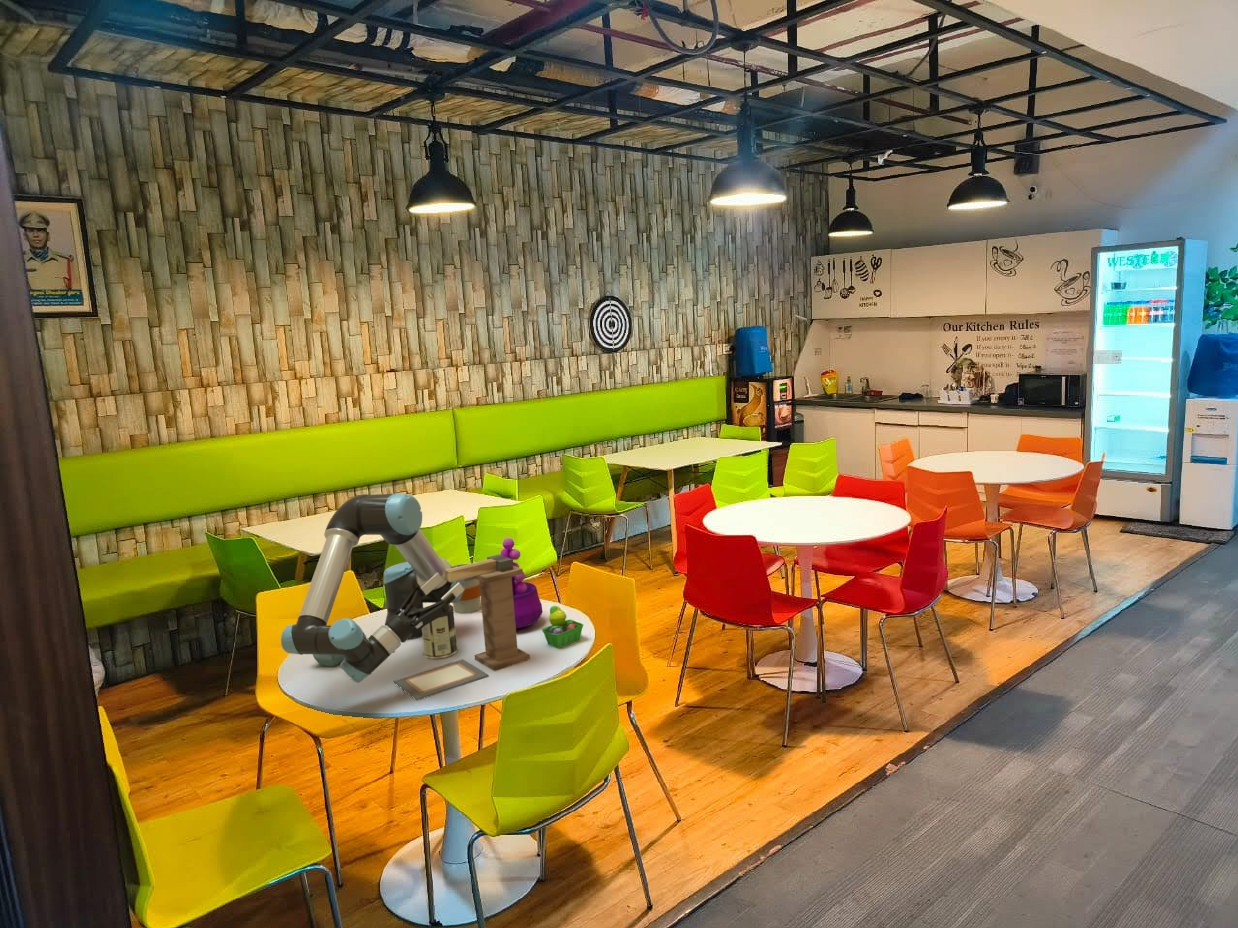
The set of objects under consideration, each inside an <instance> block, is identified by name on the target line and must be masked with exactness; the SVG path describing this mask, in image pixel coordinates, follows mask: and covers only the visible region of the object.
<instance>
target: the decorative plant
mask: <svg viewBox="0 0 1238 928" xmlns="http://www.w3.org/2000/svg"><path fill="white" fill-rule="evenodd" d="M514 546H515V541H514V539H513V538H511V537H506V538H505V539H503V541H502V547H503V548H502V550H501V551H500V553H499V555H502V556H505V557H507V558H510V559H512V562H513V566H516V567H519V568H520V565H519V563H518V562H515V561H517V560H518V559H520V557H521V552H520V550H518V549H516V548H514ZM511 578H512V590H513V601H514V613H515V625H516V629H521V628H524V627H527V626H531V625H532V624H535V623H536V622H537V621H539V619H540V618H541V616H542V614H543V606H542V605H543V604H542V602H541V600H540V596H539V593H538V589H537V586H536V585H535V584H534V583H530V582H525V581H524V580H525V579H526V574H525V572H524V571H523V574H521V575H517V576H513V577H511Z"/></svg>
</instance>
